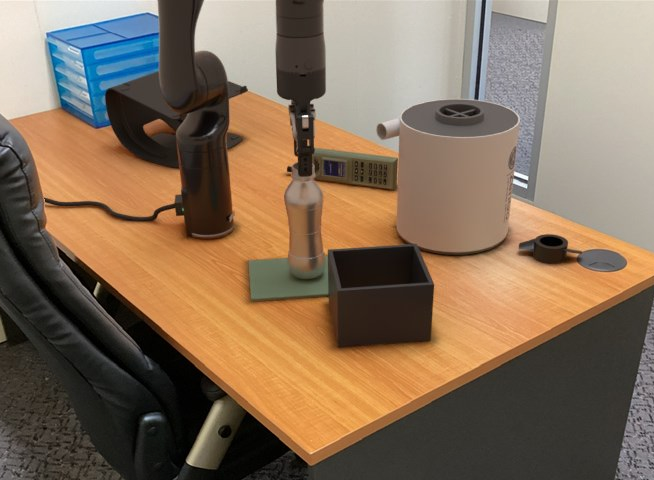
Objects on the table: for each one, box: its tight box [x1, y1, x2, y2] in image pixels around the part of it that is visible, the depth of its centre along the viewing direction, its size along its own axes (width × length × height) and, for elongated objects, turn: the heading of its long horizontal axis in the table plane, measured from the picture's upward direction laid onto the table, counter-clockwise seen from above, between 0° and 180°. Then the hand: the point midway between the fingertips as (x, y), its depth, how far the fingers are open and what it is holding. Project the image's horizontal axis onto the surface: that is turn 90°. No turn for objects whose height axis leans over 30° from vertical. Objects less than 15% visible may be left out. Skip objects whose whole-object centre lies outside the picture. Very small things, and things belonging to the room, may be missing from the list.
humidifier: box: [375, 98, 521, 256], centre depth 155 cm, size 22×21×23 cm
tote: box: [327, 243, 435, 348], centre depth 133 cm, size 14×13×10 cm
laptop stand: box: [104, 70, 249, 169], centre depth 201 cm, size 26×24×16 cm
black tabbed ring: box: [518, 233, 583, 265], centre depth 152 cm, size 8×10×3 cm
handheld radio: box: [286, 147, 399, 191], centre depth 182 cm, size 7×3×25 cm
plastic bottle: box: [283, 162, 326, 279], centre depth 143 cm, size 6×7×20 cm
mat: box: [247, 254, 328, 302], centre depth 148 cm, size 20×14×1 cm
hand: (303, 165), depth 137 cm, fingers open, 8 cm apart
